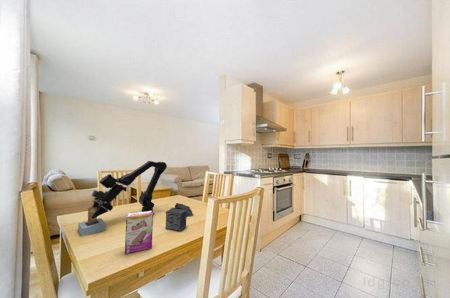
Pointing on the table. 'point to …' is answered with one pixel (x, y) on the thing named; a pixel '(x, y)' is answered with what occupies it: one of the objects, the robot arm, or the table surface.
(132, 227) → the candy bar box
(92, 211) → the walnut peg
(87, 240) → the table surface
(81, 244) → the table surface
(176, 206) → the dark slate chunk
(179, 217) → the small box
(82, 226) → the socket block
